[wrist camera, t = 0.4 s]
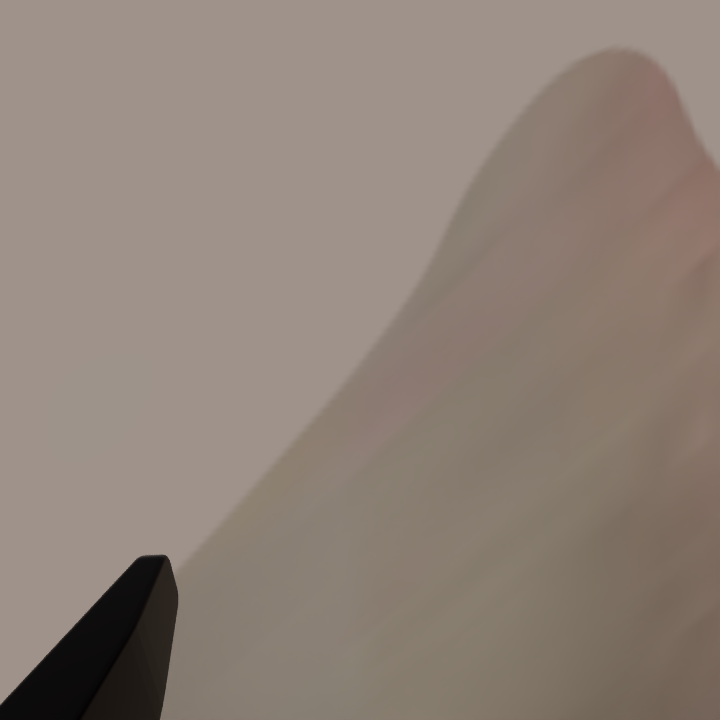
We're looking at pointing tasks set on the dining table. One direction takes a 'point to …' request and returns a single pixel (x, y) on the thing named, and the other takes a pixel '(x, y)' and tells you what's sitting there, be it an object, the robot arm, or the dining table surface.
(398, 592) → the dining table surface
